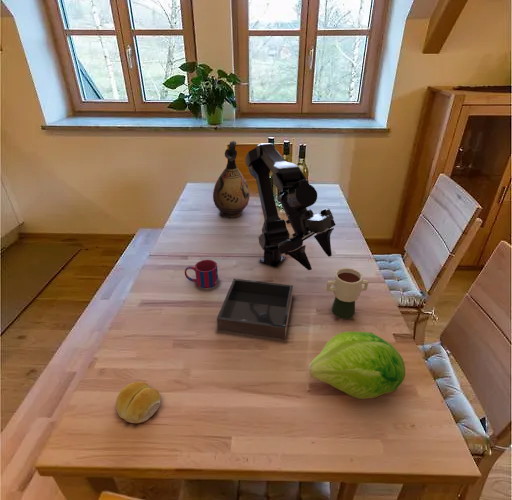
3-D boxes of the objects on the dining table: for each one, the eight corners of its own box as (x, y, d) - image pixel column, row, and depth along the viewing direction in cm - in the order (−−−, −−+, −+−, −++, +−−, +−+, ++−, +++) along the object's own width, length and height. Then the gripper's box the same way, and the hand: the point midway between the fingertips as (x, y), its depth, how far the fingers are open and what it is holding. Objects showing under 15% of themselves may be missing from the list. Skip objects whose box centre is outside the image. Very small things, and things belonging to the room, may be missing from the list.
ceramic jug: (249, 221, 147) (248, 148, 131) (212, 220, 147) (206, 148, 131) (250, 204, 161) (249, 137, 146) (216, 204, 162) (212, 137, 146)
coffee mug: (358, 304, 102) (365, 267, 95) (365, 321, 96) (374, 283, 89) (320, 305, 101) (325, 267, 95) (325, 322, 95) (331, 283, 89)
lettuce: (303, 356, 85) (307, 313, 78) (386, 356, 85) (398, 313, 78) (311, 414, 72) (317, 370, 65) (410, 415, 72) (427, 370, 65)
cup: (216, 291, 107) (214, 272, 103) (183, 289, 108) (181, 270, 104) (220, 278, 113) (219, 260, 109) (189, 276, 114) (187, 258, 110)
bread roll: (139, 381, 79) (135, 369, 77) (167, 401, 75) (165, 388, 73) (107, 409, 73) (103, 397, 71) (137, 432, 69) (133, 420, 67)
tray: (234, 291, 107) (233, 278, 104) (292, 298, 104) (293, 285, 102) (217, 332, 92) (216, 318, 90) (284, 341, 89) (285, 327, 87)
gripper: (293, 214, 85) (321, 273, 86) (337, 191, 96) (361, 243, 97) (266, 226, 93) (291, 279, 95) (309, 204, 104) (331, 251, 106)
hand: (320, 262), depth 98 cm, fingers open, 9 cm apart
